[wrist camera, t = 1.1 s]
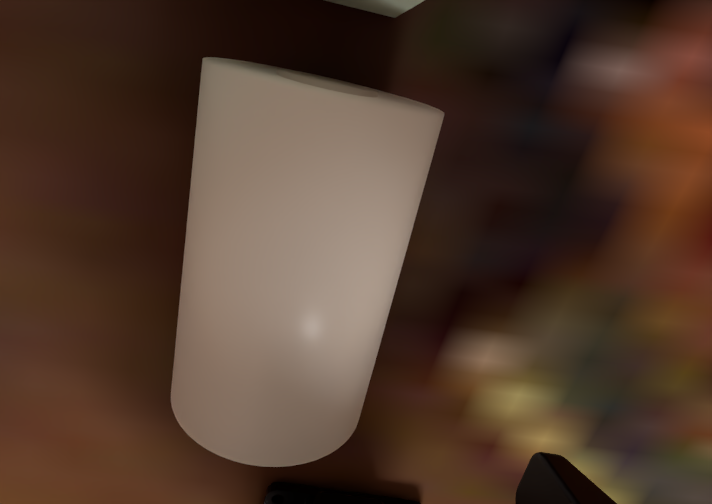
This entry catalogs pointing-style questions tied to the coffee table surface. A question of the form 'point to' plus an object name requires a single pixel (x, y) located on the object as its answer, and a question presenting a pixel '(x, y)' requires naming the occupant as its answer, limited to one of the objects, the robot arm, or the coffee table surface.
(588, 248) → the coffee table surface
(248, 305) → the cylinder
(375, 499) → the robot arm
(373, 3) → the cradle
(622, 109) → the coffee table surface
